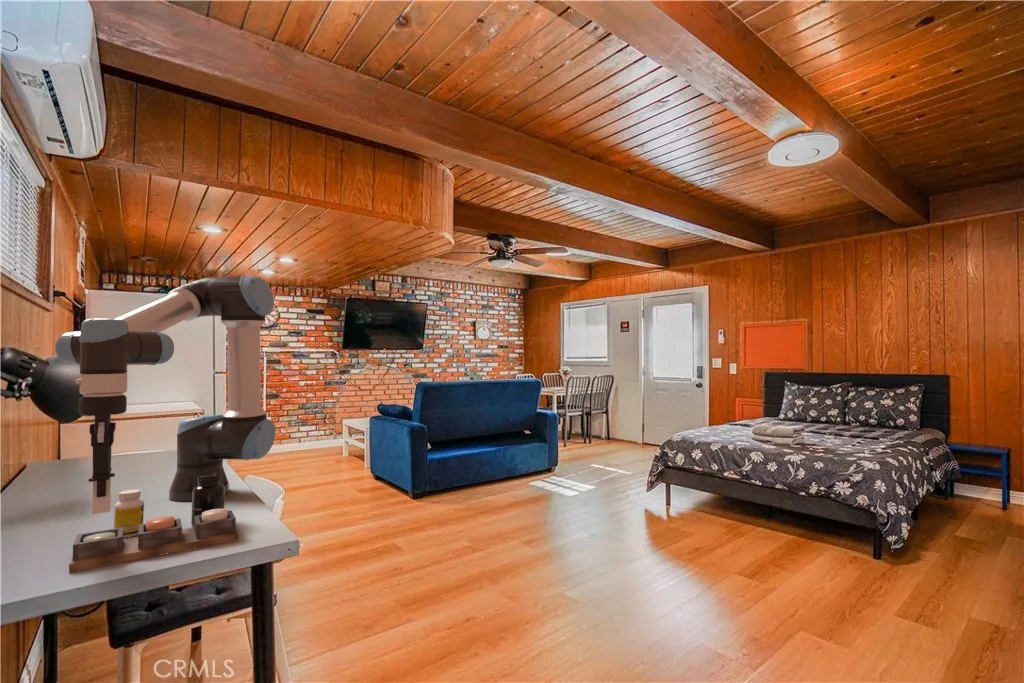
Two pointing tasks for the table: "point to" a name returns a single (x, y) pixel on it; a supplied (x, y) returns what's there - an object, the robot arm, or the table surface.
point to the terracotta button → (160, 523)
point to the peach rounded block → (214, 515)
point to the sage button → (99, 536)
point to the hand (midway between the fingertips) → (101, 511)
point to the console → (150, 542)
